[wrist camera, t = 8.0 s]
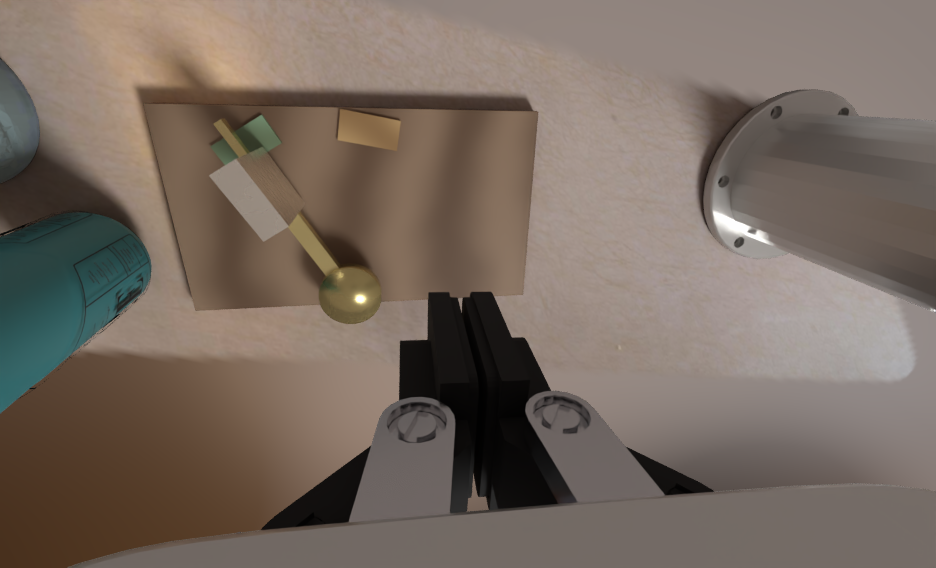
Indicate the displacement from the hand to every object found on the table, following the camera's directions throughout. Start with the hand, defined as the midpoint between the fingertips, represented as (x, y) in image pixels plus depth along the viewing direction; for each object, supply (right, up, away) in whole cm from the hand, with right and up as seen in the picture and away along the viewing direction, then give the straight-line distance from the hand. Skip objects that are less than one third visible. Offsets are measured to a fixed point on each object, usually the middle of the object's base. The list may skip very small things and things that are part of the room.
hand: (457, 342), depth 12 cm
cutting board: (-7, +7, +18) cm, 20 cm away
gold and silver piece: (-10, +5, +16) cm, 20 cm away
